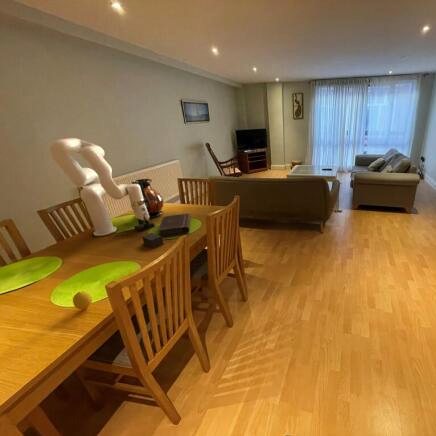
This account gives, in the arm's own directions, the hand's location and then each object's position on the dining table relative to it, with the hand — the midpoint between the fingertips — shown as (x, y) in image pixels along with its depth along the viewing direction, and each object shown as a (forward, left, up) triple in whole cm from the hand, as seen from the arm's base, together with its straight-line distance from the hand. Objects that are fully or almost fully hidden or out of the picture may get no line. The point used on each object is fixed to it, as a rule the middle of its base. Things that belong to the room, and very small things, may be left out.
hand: (144, 227), depth 165 cm
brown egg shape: (+57, -54, -1) cm, 79 cm away
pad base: (+28, -10, -1) cm, 30 cm away
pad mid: (+28, -10, +2) cm, 30 cm away
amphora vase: (-19, +15, -1) cm, 24 cm away
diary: (+18, +11, -1) cm, 22 cm away
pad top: (0, 0, -1) cm, 1 cm away
